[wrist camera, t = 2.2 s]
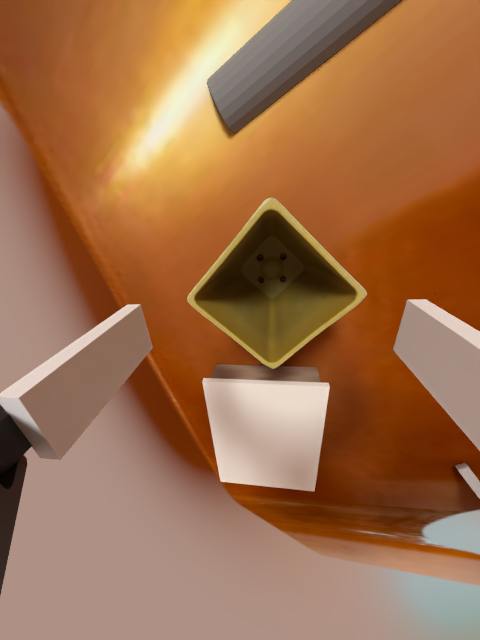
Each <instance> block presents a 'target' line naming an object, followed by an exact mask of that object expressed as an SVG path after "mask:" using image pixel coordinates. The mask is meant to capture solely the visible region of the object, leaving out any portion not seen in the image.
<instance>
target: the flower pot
mask: <svg viewBox="0 0 480 640" xmlns="http://www.w3.org/2000/svg"><path fill="white" fill-rule="evenodd" d="M281 254H285V255H286V258H285V259H281V258H280V256H281ZM258 255H262V256H263V259H262V260H258V259H257V257H258ZM282 276H284V277H285V278H286V280H285V281H281V280H280V278H281V277H282ZM260 277H262V278H263V279H264V280H263V282H259V281H258V278H260ZM366 296H367V292H366V290H365V289H364V288H363V287H362V286H361V285H360V284H359V283H358V282H357V281H356V280H355V279H354V278H353V277H352V276H351V275H350V274H349V273H348V272H347V271H346V270H345V269H344V268H343V267H342V266H341V265H340V264H339V263H338V262H337V261H336V260H335V259H334V258H333V257H332V256H331V255H330V254H329V253H328V252H327V251H326V250H325V249H324V248H323V247H322V246H321V245H320V244H319V243H318V242H317V241H316V239H315V238H314V237H313V236H312V235H311V234H310V233H309V232H308V231H307V230H306V229H305V228H304V227H303V226H302V225H301V224H300V223H299V222H298V221H297V220H296V219H295V218H294V217H293V216H292V215H291V214H290V213H289V212H288V210H287V209H286V208H285V207H284V206H283V205H282V204H281V203H280V202H279V201H277V200H276V199H274V198H268V199H266V200H265V201H264V202H263V203H262V204H261V205H260V207H259V208H258V209H257V210H256V212H255V213H254V214H253V216H252V217H251V218H250V219H249V221H248V222H247V223H246V225H245V226H244V227H243V228H242V230H241V231H240V232H239V233H238V235H237V236H236V237H235V238H234V240H233V241H232V242H231V243H230V245H229V246H228V247H227V248H226V250H225V251H224V252H223V253H222V254H221V256H220V257H219V258H218V259H217V261H216V262H215V263H214V264H213V266H212V267H211V268H210V269H209V271H208V272H207V273H206V274H205V275H204V276H203V278H202V279H201V280H200V281H199V282H198V284H197V285H196V286H195V287H194V288H193V290H192V291H191V292H190V294H189V295H188V298H187V301H188V303H189V304H190V305H191V306H192V307H193V308H194V309H196V310H197V311H198V312H199V313H201V314H202V315H203V316H204V317H206V318H207V319H208V320H210V321H211V322H212V323H213V324H215V325H216V326H217V327H218V328H220V329H221V330H222V331H223V332H225V333H226V334H227V335H229V336H230V337H231V338H232V339H233V340H235V341H236V342H237V343H238V344H240V345H241V346H242V347H243V348H245V349H246V350H247V351H248V352H249V353H251V354H252V355H253V356H254V357H255V358H257V359H258V360H259V361H260V362H261V363H263V364H264V365H266V366H268V367H270V368H272V369H275V368H277V367H278V366H280V365H281V364H282V363H283V362H285V361H286V360H287V359H288V358H290V357H291V356H292V355H293V354H294V353H295V352H297V351H298V350H299V349H301V348H302V347H303V346H304V345H305V344H307V343H308V342H309V341H310V340H311V339H313V338H314V337H315V336H317V335H318V334H319V333H321V332H322V331H323V330H325V329H326V328H327V327H329V326H330V325H331V324H333V323H334V322H336V321H337V320H338V319H340V318H341V317H342V316H343V315H345V314H346V313H347V312H349V311H350V310H352V309H353V308H354V307H356V306H357V305H358V304H359V303H360V302H361V301H362V300H363V299H364V298H365V297H366Z"/></svg>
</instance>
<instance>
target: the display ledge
mask: <svg viewBox="0 0 480 640" xmlns="http://www.w3.org/2000/svg"><path fill="white" fill-rule="evenodd" d="M202 383H203V388H204V394H205V399H206V405H207V410H208V416H209V421H210V426H211V432H212V437H213V443H214V448H215V454H216V459H217V465H218V470H219V476H220V481H222V482H231V483H240V484H249V485H258V486H268V487H277V488H286V489H295V490H305V491H314V492H315V485H316V478H317V471H318V464H319V457H320V450H321V443H322V437H323V430H324V423H325V416H326V409H327V402H328V395H329V388H330V386H329V383H321V381H320V377H319V373H318V369H317V367H294V366H278V367H277V368H275V369H272V368H270V367H268V366H260V365H226V364H216V365H215V368H214V371H213V373H212V376H211V378H203V381H202Z"/></svg>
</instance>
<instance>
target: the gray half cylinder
mask: <svg viewBox="0 0 480 640" xmlns="http://www.w3.org/2000/svg"><path fill="white" fill-rule="evenodd" d="M400 1H401V0H292V1H291V2H290V3H289V4H287V5H286V6H285V7H284V8H283V9H282V10H281V11H280V12H279V13H278V14H277V15H276V16H275V17H274V18H273V19H272V20H270V21H269V22H268V23H267V24H266V25H265V26H264V27H263V28H262V29H261V30H260V31H259V32H258V33H257V34H256V35H254V36H253V37H252V38H251V39H250V40H249V41H248V42H247V43H246V44H245V45H244V46H243V47H242V48H241V49H240V50H238V51H237V52H236V53H235V54H234V55H233V56H232V57H231V58H230V59H229V60H228V61H227V62H226V63H225V64H224V65H223V66H221V67H220V68H219V69H218V70H217V71H216V72H215V73H214V74H213V75H212V76H211V77H210V78H209V79H208V81H207V85H208V88H209V91H210V94H211V96H212V99H213V101H214V103H215V105H216V107H217V109H218V111H219V113H220V115H221V117H222V118H223V120H224V122H225V123H226V125H227V127H228V128H229V129H230V130H231V131H232V132H233V133H236V132H237V131H239V130H240V129H241V128H242V127H244V126H245V125H246V124H247V123H249V122H250V121H251V120H252V119H254V118H255V117H256V116H257V115H259V114H260V113H261V112H262V111H264V110H265V109H266V108H267V107H269V106H270V105H271V104H272V103H274V102H275V101H276V100H277V99H279V98H280V97H281V96H282V95H284V94H285V93H286V92H287V91H289V90H290V89H291V88H292V87H294V86H295V85H296V84H297V83H299V82H300V81H301V80H302V79H304V78H305V77H306V76H307V75H309V74H310V73H311V72H312V71H314V70H315V69H316V68H317V67H319V66H320V65H321V64H322V63H324V62H325V61H326V60H327V59H329V58H330V57H331V56H332V55H334V54H335V53H336V52H337V51H339V50H340V49H341V48H342V47H344V46H345V45H346V44H347V43H349V42H350V41H351V40H352V39H354V38H355V37H356V36H357V35H359V34H360V33H361V32H362V31H364V30H365V29H366V28H367V27H369V26H370V25H371V24H372V23H374V22H375V21H376V20H377V19H379V18H380V17H381V16H382V15H384V14H385V13H386V12H387V11H389V10H390V9H391V8H392V7H393V6H395V5H396V4H397V3H398V2H400Z"/></svg>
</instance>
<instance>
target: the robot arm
mask: <svg viewBox="0 0 480 640" xmlns="http://www.w3.org/2000/svg"><path fill="white" fill-rule="evenodd" d="M152 348H153V346H152V343H151V339H150V336H149V332H148V329H147V325H146V321H145V318H144V314H143V311H142V307H141V304H138V305H126V306H125V307H123V308H122V309H121V310H119V311H118V312H116V313H115V314H113V315H112V316H111V317H109V318H108V319H106V320H105V321H103V322H102V323H100V324H99V325H98V326H96V327H95V328H93V329H92V330H90V331H89V332H87V333H86V334H85V335H83V336H82V337H80V338H79V339H78V340H76V341H75V342H73V343H72V344H70V345H69V346H68V347H66V348H65V349H63V350H62V351H60V352H59V353H57V354H56V355H54V356H53V357H52V358H50V359H49V360H47V361H46V362H44V363H43V364H42V365H40V366H39V367H37V368H36V369H34V370H33V371H31V372H30V373H29V374H27V375H26V376H24V377H23V378H21V379H20V380H18V381H17V382H16V383H14V384H13V385H11V386H10V387H9V388H7V389H6V390H4V391H3V392H1V393H0V594H1V589H2V584H3V579H4V574H5V570H6V565H7V560H8V555H9V550H10V545H11V540H12V535H13V530H14V526H15V520H16V516H17V511H18V506H19V501H20V496H21V491H22V487H23V482H24V477H25V472H26V467H27V459H26V457H25V456H24V453H25V452H26V451H27V450H28V449H29V448H30V447H31V446H32V447H33V449H34V450H35V451H36V453H37V454H38V456H39V457H40V458H46V459H59V460H61V459H62V457H63V456H64V455H65V454H66V452H67V451H68V450H69V449H70V448H71V446H72V445H73V444H74V443H75V442H76V440H77V439H78V438H79V437H80V435H81V434H82V433H83V432H84V431H85V429H86V428H87V427H88V426H89V425H90V423H91V422H92V421H93V420H94V418H95V417H96V416H97V415H98V414H99V412H100V411H101V410H102V409H103V408H104V406H105V405H106V404H107V403H108V401H109V400H110V399H111V398H112V397H113V395H114V394H115V393H116V392H117V391H118V389H119V388H120V387H121V386H122V384H123V383H124V382H125V381H126V380H127V378H128V377H129V376H130V375H131V373H132V372H133V371H134V370H135V369H136V367H137V366H138V365H139V364H140V363H141V361H142V360H143V359H144V358H145V357H146V355H147V354H148V353H149V352H150V350H151V349H152ZM393 350H394V351H395V353H396V354H397V355H398V356H399V357H400V358H401V360H402V361H403V362H404V363H405V364H406V365H407V367H408V368H409V369H410V370H411V371H412V372H413V374H414V375H415V376H416V377H417V378H418V379H419V381H420V382H421V383H422V384H423V385H424V386H425V388H426V389H427V390H428V391H429V392H430V393H431V395H432V396H433V397H434V398H435V399H436V400H437V402H438V403H439V404H440V405H441V406H442V407H443V409H444V410H445V411H446V412H447V413H448V414H449V416H450V417H451V418H452V419H453V420H454V421H455V423H456V424H457V425H458V426H459V427H460V428H461V430H462V431H463V432H464V433H465V434H466V435H467V437H468V438H469V439H470V440H471V441H472V442H473V444H474V445H475V446H476V447H477V448H478V449H479V451H480V332H479V331H478V330H476V329H474V328H473V327H471V326H469V325H468V324H466V323H464V322H463V321H461V320H459V319H458V318H456V317H454V316H453V315H451V314H449V313H448V312H446V311H444V310H443V309H441V308H439V307H438V306H436V305H434V304H433V303H431V302H429V301H428V300H426V299H421V300H407V303H406V306H405V310H404V313H403V317H402V320H401V324H400V328H399V331H398V335H397V338H396V342H395V345H394V349H393Z"/></svg>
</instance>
